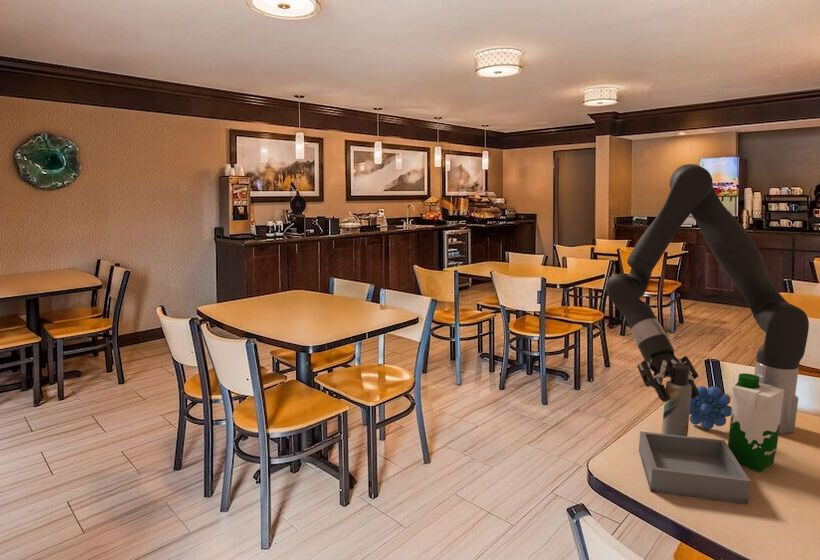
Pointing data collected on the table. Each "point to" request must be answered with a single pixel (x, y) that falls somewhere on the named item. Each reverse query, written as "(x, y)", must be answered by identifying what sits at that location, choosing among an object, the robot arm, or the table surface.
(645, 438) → the bin
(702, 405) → the grapes
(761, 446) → the milk carton
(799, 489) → the table surface
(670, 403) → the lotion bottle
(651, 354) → the robot arm
